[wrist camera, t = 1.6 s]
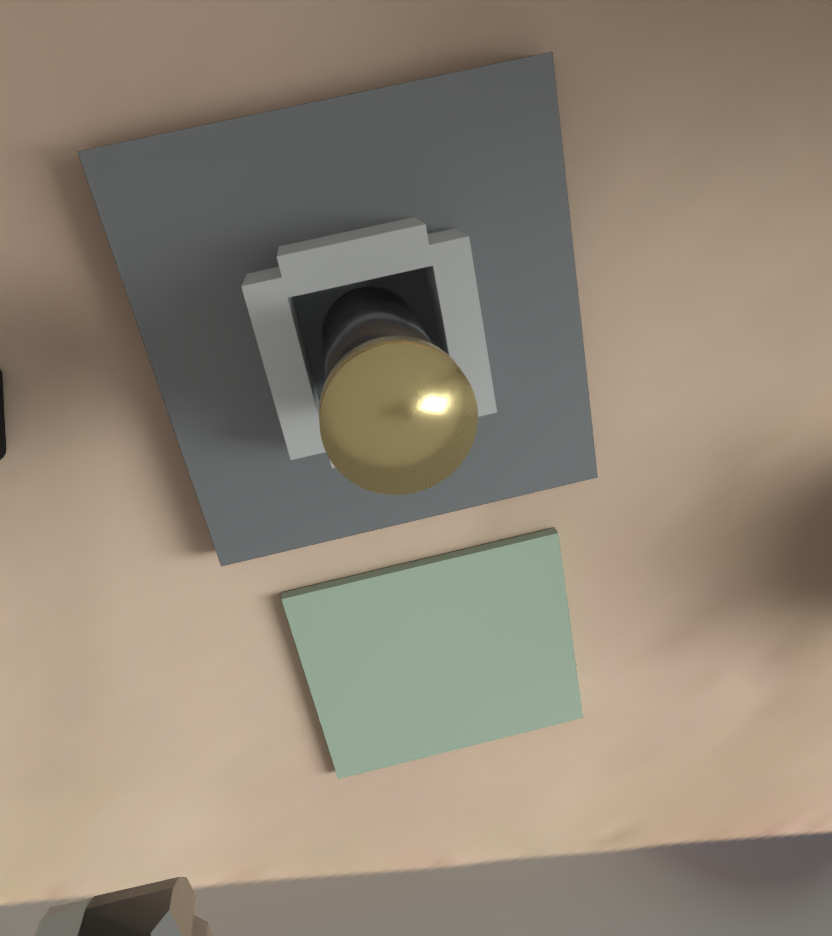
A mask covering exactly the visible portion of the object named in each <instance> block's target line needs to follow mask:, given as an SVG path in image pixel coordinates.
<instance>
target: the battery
mask: <svg viewBox="0 0 832 936" xmlns="http://www.w3.org/2000/svg"><path fill="white" fill-rule="evenodd" d="M5 454H6V437H5V418H4V399H3V380H2V372H1V370H0V460H1V459H2V458H3V457H4V455H5Z"/></svg>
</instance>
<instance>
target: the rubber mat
mask: <svg viewBox="0 0 832 936" xmlns="http://www.w3.org/2000/svg"><path fill="white" fill-rule="evenodd" d="M281 600H282V603H283V606H284V609H285V612H286V616H287V619H288V622H289V625H290V628H291V631H292V635H293V638H294V641H295V644H296V647H297V650H298V654H299V657H300V660H301V663H302V666H303V669H304V673H305V676H306V679H307V682H308V685H309V688H310V691H311V695H312V698H313V701H314V704H315V707H316V710H317V714H318V717H319V720H320V723H321V726H322V729H323V733H324V736H325V739H326V742H327V745H328V748H329V752H330V755H331V758H332V761H333V764H334V767H335V771H336V774H337V777H338V779H340V778H344V777H348V776H352V775H356V774H360V773H364V772H368V771H372V770H376V769H380V768H384V767H388V766H392V765H396V764H400V763H404V762H408V761H412V760H416V759H420V758H424V757H428V756H432V755H436V754H440V753H444V752H448V751H452V750H456V749H460V748H464V747H468V746H472V745H476V744H480V743H484V742H488V741H492V740H496V739H500V738H504V737H508V736H512V735H516V734H520V733H524V732H528V731H532V730H536V729H540V728H544V727H548V726H552V725H556V724H560V723H564V722H568V721H572V720H576V719H580V718H583V714H582V707H581V700H580V692H579V685H578V677H577V670H576V662H575V655H574V647H573V640H572V632H571V625H570V617H569V610H568V602H567V595H566V588H565V580H564V573H563V565H562V558H561V550H560V543H559V535H558V532H557V530H556V529H555V528H551V529H547V530H542V531H538V532H534V533H530V534H526V535H522V536H517V537H513V538H509V539H505V540H501V541H496V542H492V543H488V544H484V545H480V546H475V547H471V548H467V549H463V550H459V551H454V552H450V553H446V554H442V555H438V556H434V557H429V558H425V559H421V560H417V561H413V562H408V563H404V564H400V565H396V566H392V567H387V568H383V569H379V570H375V571H371V572H366V573H362V574H358V575H354V576H350V577H346V578H341V579H337V580H333V581H329V582H325V583H320V584H316V585H312V586H308V587H304V588H299V589H295V590H291V591H287V592H283V593H282V597H281Z"/></svg>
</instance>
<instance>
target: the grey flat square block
mask: <svg viewBox="0 0 832 936" xmlns="http://www.w3.org/2000/svg"><path fill="white" fill-rule="evenodd" d="M78 155H79V158H80V161H81V164H82V166H83V169H84V172H85V175H86V178H87V181H88V184H89V187H90V190H91V192H92V195H93V198H94V201H95V204H96V207H97V210H98V213H99V215H100V218H101V221H102V224H103V227H104V230H105V233H106V236H107V239H108V241H109V244H110V247H111V250H112V253H113V256H114V259H115V262H116V264H117V267H118V270H119V273H120V276H121V279H122V282H123V285H124V288H125V290H126V293H127V296H128V299H129V302H130V305H131V308H132V311H133V313H134V316H135V319H136V322H137V325H138V328H139V331H140V334H141V337H142V339H143V342H144V345H145V348H146V351H147V354H148V357H149V360H150V362H151V365H152V368H153V371H154V374H155V377H156V380H157V383H158V386H159V388H160V391H161V394H162V397H163V400H164V403H165V406H166V409H167V411H168V414H169V417H170V420H171V423H172V426H173V429H174V432H175V435H176V437H177V440H178V443H179V446H180V449H181V452H182V455H183V458H184V460H185V463H186V466H187V469H188V472H189V475H190V478H191V481H192V483H193V486H194V489H195V492H196V495H197V498H198V501H199V504H200V507H201V509H202V512H203V515H204V518H205V521H206V524H207V527H208V530H209V532H210V535H211V538H212V541H213V544H214V547H215V550H216V553H217V556H218V558H219V561H220V564H221V566H225V565H229V564H233V563H237V562H242V561H246V560H250V559H254V558H259V557H263V556H267V555H271V554H275V553H280V552H284V551H288V550H292V549H297V548H301V547H305V546H309V545H314V544H318V543H322V542H326V541H330V540H335V539H339V538H343V537H347V536H352V535H356V534H360V533H364V532H369V531H373V530H377V529H381V528H385V527H390V526H394V525H398V524H402V523H407V522H411V521H415V520H419V519H424V518H428V517H432V516H436V515H440V514H445V513H449V512H453V511H457V510H462V509H466V508H470V507H474V506H479V505H483V504H487V503H491V502H496V501H500V500H504V499H508V498H512V497H517V496H521V495H525V494H529V493H534V492H538V491H542V490H546V489H551V488H555V487H559V486H563V485H567V484H572V483H576V482H580V481H584V480H589V479H593V478H597V477H598V476H597V467H596V458H595V448H594V439H593V429H592V420H591V411H590V401H589V392H588V382H587V373H586V364H585V354H584V345H583V335H582V326H581V317H580V307H579V298H578V288H577V279H576V269H575V260H574V251H573V241H572V232H571V222H570V213H569V204H568V194H567V185H566V175H565V166H564V157H563V147H562V138H561V128H560V119H559V109H558V100H557V91H556V81H555V72H554V62H553V53H552V52H549V53H544V54H540V55H535V56H530V57H525V58H521V59H516V60H511V61H506V62H502V63H497V64H492V65H487V66H483V67H478V68H473V69H468V70H464V71H459V72H454V73H449V74H444V75H440V76H435V77H430V78H425V79H421V80H416V81H411V82H406V83H402V84H397V85H392V86H387V87H383V88H378V89H373V90H368V91H364V92H359V93H354V94H349V95H345V96H340V97H335V98H330V99H326V100H321V101H316V102H311V103H307V104H302V105H297V106H292V107H288V108H283V109H278V110H273V111H268V112H264V113H259V114H254V115H249V116H245V117H240V118H235V119H230V120H226V121H221V122H216V123H211V124H207V125H202V126H197V127H192V128H188V129H183V130H178V131H173V132H169V133H164V134H159V135H154V136H150V137H145V138H140V139H135V140H131V141H126V142H121V143H116V144H112V145H107V146H102V147H97V148H93V149H88V150H83V151H78ZM361 287H379V288H383V289H386V290H389V291H391V292H393V293H395V294H397V295H398V296H399V297H401V298H402V299H403V300H404V301H405V302H406V303H407V305H408V306H409V307H410V309H411V310H412V312H413V314H414V315H415V317H416V318H417V320H418V322H419V323H420V325H421V326H422V328H423V329H424V331H425V333H426V334H427V336H428V337H429V339H430V341H431V342H432V344H434V345H435V346H437V347H439V348H440V349H442V350H443V351H444V352H446V353H447V354H448V355H449V356H450V357H451V358H452V359H453V360H454V361H455V362H456V364H457V365H458V366H459V367H460V369H461V370H462V372H463V373H464V375H465V376H466V378H467V379H468V381H469V383H470V385H471V387H472V389H473V392H474V394H475V398H476V402H477V408H478V425H477V431H476V436H475V439H474V442H473V444H472V447H471V449H470V451H469V453H468V454H467V456H466V458H465V459H464V461H463V462H462V463H461V464H460V466H459V467H458V468H457V469H456V470H455V471H454V472H453V473H452V474H451V475H450V476H448V477H447V478H446V479H444V480H443V481H441V482H440V483H438V484H436V485H434V486H432V487H430V488H428V489H425V490H422V491H419V492H416V493H411V494H404V495H388V494H381V493H376V492H373V491H369V490H366V489H364V488H362V487H360V486H358V485H356V484H354V483H353V482H351V481H350V480H348V479H347V478H346V477H345V476H343V475H342V474H341V473H340V472H339V471H338V469H337V468H336V467H335V466H334V465H333V463H332V462H331V460H330V459H329V457H328V455H327V453H326V451H325V449H324V446H323V443H322V440H321V434H320V425H319V401H320V396H321V392H322V389H323V386H324V383H325V381H326V376H325V365H324V353H323V342H322V327H323V323H324V319H325V317H326V314H327V312H328V310H329V309H330V307H331V306H332V305H333V303H334V302H335V301H336V300H337V299H338V298H340V297H341V296H342V295H344V294H345V293H347V292H349V291H351V290H353V289H357V288H361Z"/></svg>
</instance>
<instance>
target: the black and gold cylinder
mask: <svg viewBox="0 0 832 936" xmlns="http://www.w3.org/2000/svg"><path fill="white" fill-rule="evenodd" d="M322 342H323V353H324V365H325V376H326V381H325V383H324V386H323V389H322V392H321V396H320V401H319V425H320V434H321V440H322V443H323V446H324V449H325V451H326V453H327V455H328V457H329V459H330V460H331V462H332V463H333V465H334V466H335V467H336V468H337V469H338V471H339V472H340V473H341V474H342V475H343V476H345V477H346V478H347V479H348V480H350V481H351V482H353V483H354V484H356V485H358V486H360V487H362V488H364V489H366V490H369V491H373V492H376V493H381V494H388V495H404V494H411V493H416V492H419V491H422V490H425V489H428V488H430V487H432V486H434V485H436V484H438V483H440V482H441V481H443V480H444V479H446V478H447V477H448V476H450V475H451V474H452V473H453V472H454V471H455V470H456V469H457V468H458V467H459V466H460V464H461V463H462V462H463V461H464V459H465V458H466V456H467V454H468V453H469V451H470V449H471V447H472V444H473V442H474V439H475V436H476V431H477V425H478V408H477V402H476V398H475V394H474V392H473V389H472V387H471V385H470V383H469V381H468V379H467V378H466V376H465V375H464V373H463V372H462V370H461V369H460V367H459V366H458V365H457V364H456V362H455V361H454V360H453V359H452V358H451V357H450V356H449V355H448V354H447V353H446V352H444V351H443V350H442V349H440V348H439V347H437V346H435V345H434V344H432V342H431V341H430V339H429V337H428V336H427V334H426V333H425V331H424V329H423V328H422V326H421V325H420V323H419V322H418V320H417V318H416V317H415V315H414V314H413V312H412V310H411V309H410V307H409V306H408V305H407V303H406V302H405V301H404V300H403V299H402V298H401V297H399V296H398V295H397V294H395V293H393V292H391V291H389V290H386V289H383V288H379V287H361V288H357V289H353V290H351V291H349V292H347V293H345V294H344V295H342V296H341V297H340V298H338V299H337V300H336V301H335V302H334V303H333V305H332V306H331V307H330V309H329V310H328V312H327V314H326V317H325V319H324V323H323V327H322Z"/></svg>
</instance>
